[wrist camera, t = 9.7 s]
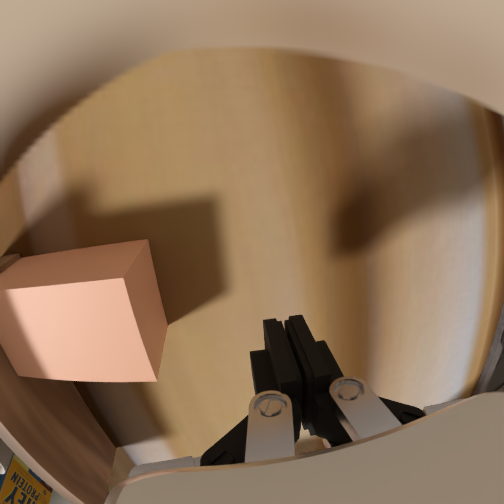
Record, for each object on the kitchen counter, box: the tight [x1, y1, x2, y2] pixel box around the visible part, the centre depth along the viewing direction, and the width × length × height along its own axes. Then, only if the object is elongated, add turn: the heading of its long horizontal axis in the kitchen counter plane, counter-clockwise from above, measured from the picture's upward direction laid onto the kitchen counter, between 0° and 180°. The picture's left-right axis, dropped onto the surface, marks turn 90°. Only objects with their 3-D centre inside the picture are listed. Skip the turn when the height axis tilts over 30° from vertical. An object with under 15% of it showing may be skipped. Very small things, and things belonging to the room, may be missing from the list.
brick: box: [0, 239, 168, 382], centre depth 15 cm, size 10×6×6 cm, turn 95°
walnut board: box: [0, 253, 116, 504], centre depth 15 cm, size 2×22×9 cm, turn 5°
